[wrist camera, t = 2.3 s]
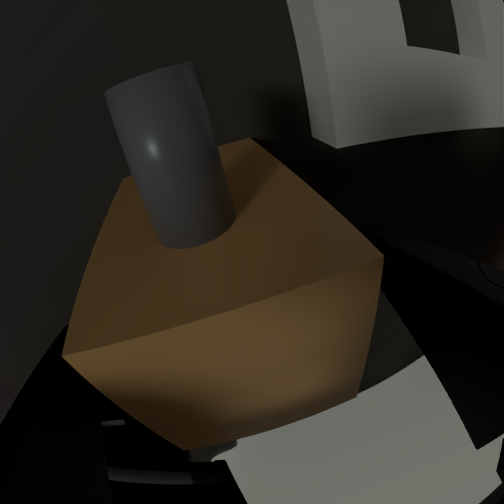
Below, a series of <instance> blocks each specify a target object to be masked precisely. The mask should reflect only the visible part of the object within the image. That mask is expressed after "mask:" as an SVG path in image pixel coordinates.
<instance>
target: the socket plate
mask: <svg viewBox="0 0 504 504" xmlns="http://www.w3.org/2000/svg"><path fill="white" fill-rule="evenodd" d="M287 4H288V8H289V12H290V17H291V21H292V25H293V30H294V35H295V39H296V44H297V49H298V54H299V59H300V64H301V70H302V75H303V81H304V87H305V93H306V99H307V105H308V111H309V118H310V125H311V132H312V137H314V138H316V139H318V140H320V141H322V142H325V143H327V144H329V145H331V146H333V147H335V148H342V147H347V146H352V145H358V144H363V143H368V142H374V141H380V140H386V139H392V138H398V137H405V136H412V135H419V134H427V133H435V132H444V131H453V130H464V129H476V128H491V127H504V3H503V0H451V4H452V8H453V13H454V18H455V24H456V30H457V36H458V43H459V51H460V55H457V54H453V53H448V52H443V51H437V50H431V49H425V48H418V47H411V46H407V43H406V36H405V30H404V25H403V19H402V14H401V10H400V5H399V1H398V0H287Z"/></svg>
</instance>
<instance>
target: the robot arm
mask: <svg viewBox="0 0 504 504" xmlns="http://www.w3.org/2000/svg"><path fill="white" fill-rule="evenodd" d="M363 235H364V236H365V237H366V238H367V239H368V240H369V241H370V242H371V243H372V244H373V245H374V246H375V247H376V248H377V249H378V250H379V251H380V252H381V253H382V254H383V255H384V262H383V270H382V278H381V285H380V287H381V289H382V291H383V292H384V294H385V296H386V297H387V299H388V300H389V302H390V303H391V305H392V306H393V308H394V309H395V311H396V312H397V314H398V315H399V317H400V318H401V320H402V321H403V323H404V324H405V326H406V327H407V329H408V330H409V332H410V333H411V335H412V336H413V338H414V339H415V341H416V342H417V344H418V346H419V347H420V349H421V350H422V352H423V353H424V355H425V356H426V358H427V360H428V361H429V363H430V365H431V367H432V368H433V370H434V371H435V373H436V375H437V377H438V378H439V380H440V382H441V383H442V385H443V387H444V389H445V390H446V392H447V394H448V396H449V397H450V399H451V400H452V403H453V405H454V407H455V409H456V411H457V413H458V414H459V416H460V418H461V420H462V422H463V424H464V426H465V428H466V430H467V432H468V434H469V436H470V438H471V440H472V442H473V444H474V446H475V448H476V449H480V448H481V447H483V446H485V445H486V444H488V443H490V442H491V441H493V440H494V439H496V438H498V437H499V436H501V435H502V434H504V271H502V270H499V269H497V268H494V267H492V266H489V265H486V264H484V263H481V262H479V261H477V262H476V260H473V259H471V258H468V257H465V256H463V255H460V254H457V253H454V252H452V251H449V250H446V249H443V248H441V247H438V246H435V245H432V244H429V243H426V242H423V241H420V240H417V239H414V238H411V237H408V236H405V235H402V234H399V233H396V232H393V231H390V230H387V229H383V228H380V227H372V228H369V229H366V230H365V231H364V234H363ZM68 327H69V325H66V326H65V327H64V328H63V330H62V331H61V332H60V334H59V335H58V336H57V338H56V339H55V341H54V342H53V343H52V345H51V346H50V348H49V349H48V350H47V352H46V353H45V355H44V356H43V357H42V359H41V360H40V362H39V363H38V365H37V366H36V368H35V369H34V371H33V372H32V374H31V375H30V377H29V378H28V380H27V381H26V383H25V385H24V386H23V388H22V389H21V391H20V393H19V394H18V396H17V397H16V399H15V401H14V402H13V404H12V406H11V409H9V411H8V413H7V414H6V416H5V418H4V419H3V421H2V423H1V425H0V504H247V502H246V500H245V498H244V496H243V494H242V493H241V491H240V489H239V487H238V485H237V483H236V481H235V479H234V477H233V475H232V473H231V471H230V469H229V467H228V465H227V463H226V461H225V460H215V461H214V462H192V458H191V452H190V449H189V450H182V449H181V448H179V447H177V446H176V445H174V444H172V443H171V442H169V441H167V440H166V439H164V438H163V437H161V436H160V435H158V434H156V433H155V432H153V431H152V430H150V429H149V428H148V427H146V426H145V425H143V424H142V423H140V422H139V421H137V420H136V419H135V418H133V417H132V416H131V415H129V414H128V413H127V412H125V411H124V410H123V409H121V408H120V407H119V406H117V405H116V404H115V403H114V402H112V401H111V400H110V399H109V398H107V397H106V396H105V395H104V394H102V393H101V392H100V391H99V390H98V389H97V388H95V387H94V386H93V385H92V384H91V383H90V382H88V381H87V380H86V379H85V378H84V377H83V376H82V375H81V374H80V373H79V372H77V371H76V370H75V369H74V368H73V367H72V366H71V365H70V364H69V363H68V362H67V361H66V360H65V359H64V358H63V357H62V352H63V348H64V343H65V339H66V335H67V331H68ZM496 471H497V473H498V475H499V477H500V479H501V481H502V483H501V484H500V485H499V486H498V487H497V488H496V489H495V490H494V491H493V492H492V493H491V494H490V495H489V496H488V497H486V498H485V499H484V500H483V501H482V502H481V503H479V504H504V438H503V442H502V448H501V452H500V458H499V462H498V466H497V470H496Z"/></svg>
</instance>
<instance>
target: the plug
mask: <svg viewBox="0 0 504 504" xmlns="http://www.w3.org/2000/svg"><path fill="white" fill-rule="evenodd" d="M104 94H105V97H106V101H107V104H108V107H109V110H110V114H111V117H112V120H113V123H114V126H115V129H116V132H117V135H118V138H119V140H120V143H121V146H122V149H123V152H124V155H125V157H126V160H127V163H128V165H129V168H130V171H131V173H132V175H131V176H128V177H126V178H124V179H123V181H122V183H121V185H120V187H119V189H118V191H117V193H116V196H115V198H114V200H113V202H112V204H111V207H110V209H109V211H108V213H107V216H106V218H105V220H104V223H103V225H102V228H101V230H100V232H99V235H98V237H97V240H96V243H95V245H94V248H93V250H92V253H91V256H90V259H89V261H88V264H87V267H86V270H85V273H84V276H83V279H82V282H81V285H80V288H79V291H78V295H77V298H76V301H75V305H74V308H73V312H72V315H71V319H70V323H69V327H68V331H67V335H66V339H65V343H64V348H63V352H62V357H63V358H64V359H65V360H66V361H67V362H68V363H69V364H70V365H71V366H72V367H73V368H74V369H75V370H76V371H77V372H79V373H80V374H81V375H82V376H83V377H84V378H85V379H86V380H87V381H88V382H90V383H91V384H92V385H93V386H94V387H95V388H97V389H98V390H99V391H100V392H101V393H102V394H104V395H105V396H106V397H107V398H109V399H110V400H111V401H112V402H114V403H115V404H116V405H117V406H119V407H120V408H121V409H123V410H124V411H125V412H127V413H128V414H129V415H131V416H132V417H133V418H135V419H136V420H137V421H139V422H140V423H142V424H143V425H145V426H146V427H148V428H149V429H150V430H152V431H153V432H155V433H156V434H158V435H160V436H161V437H163V438H164V439H166V440H167V441H169V442H171V443H172V444H174V445H176V446H177V447H179V448H181V449H182V450H189V449H195V448H200V447H205V446H210V445H215V444H220V443H224V442H228V441H232V440H236V439H240V438H244V437H248V436H251V435H255V434H258V433H262V432H265V431H269V430H272V429H275V428H278V427H281V426H284V425H287V424H290V423H293V422H296V421H299V420H301V419H304V418H307V417H310V416H312V415H315V414H317V413H320V412H322V411H325V410H327V409H330V408H332V407H335V406H337V405H339V404H342V403H344V402H346V401H348V400H350V399H353V398H355V397H356V396H357V393H358V390H359V386H360V382H361V379H362V375H363V371H364V367H365V363H366V359H367V354H368V350H369V345H370V341H371V336H372V331H373V326H374V321H375V315H376V310H377V304H378V298H379V291H380V285H381V278H382V270H383V262H384V255H383V254H382V253H381V252H380V251H379V250H378V249H377V248H376V247H375V246H374V245H373V244H372V243H371V242H370V241H369V240H368V239H367V238H366V237H365V236H364V235H363V234H362V233H361V232H359V231H358V230H357V229H356V228H355V227H354V226H353V225H352V224H351V223H350V222H349V221H348V220H347V219H346V218H345V217H344V216H342V215H341V214H340V213H339V212H338V211H337V210H336V209H335V208H334V207H333V206H332V205H330V204H329V203H328V202H327V201H326V200H325V199H324V198H323V197H321V196H320V195H319V194H318V193H317V192H316V191H315V190H313V189H312V188H311V187H310V186H309V185H308V184H306V183H305V182H304V181H303V180H302V179H301V178H299V177H298V176H297V175H296V174H295V173H293V172H292V171H291V170H290V169H289V168H287V167H286V166H285V165H284V164H283V163H281V162H280V161H279V160H278V159H276V158H275V157H274V156H273V155H271V154H270V153H269V152H268V151H266V150H265V149H264V148H262V147H261V146H260V145H259V144H257V143H256V142H255V141H253V140H252V139H251V138H247V139H243V140H240V141H236V142H232V143H228V144H225V145H221V146H217V142H216V138H215V134H214V130H213V127H212V123H211V119H210V115H209V111H208V107H207V103H206V99H205V96H204V92H203V88H202V84H201V80H200V76H199V72H198V68H197V64H196V61H191V62H185V63H180V64H176V65H172V66H168V67H164V68H161V69H158V70H154V71H151V72H148V73H145V74H143V75H140V76H137V77H135V78H132V79H130V80H127V81H125V82H123V83H120V84H118V85H116V86H114V87H112V88H110V89H108V90H107V91H105V92H104Z"/></svg>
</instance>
